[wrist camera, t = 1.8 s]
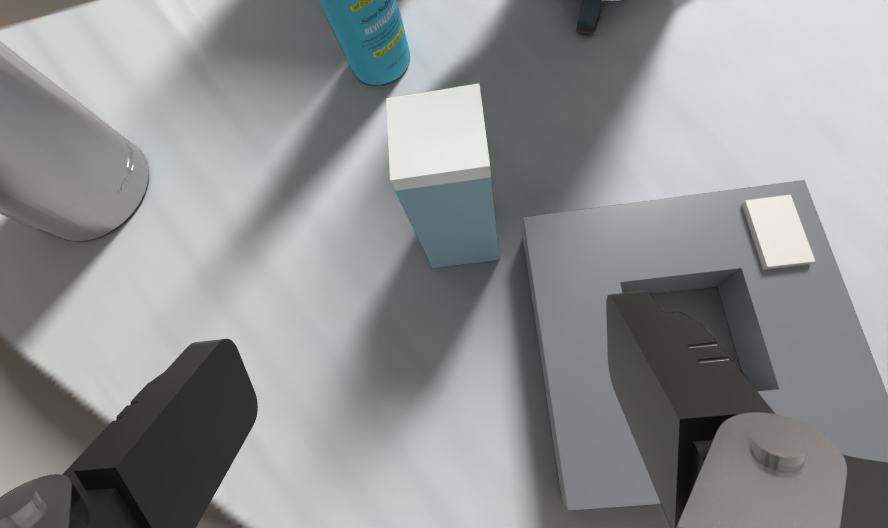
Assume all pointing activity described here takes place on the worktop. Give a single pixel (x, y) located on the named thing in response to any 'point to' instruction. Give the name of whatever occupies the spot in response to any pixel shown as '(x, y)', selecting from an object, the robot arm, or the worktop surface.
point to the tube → (370, 37)
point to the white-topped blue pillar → (444, 173)
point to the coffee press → (589, 15)
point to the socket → (746, 309)
